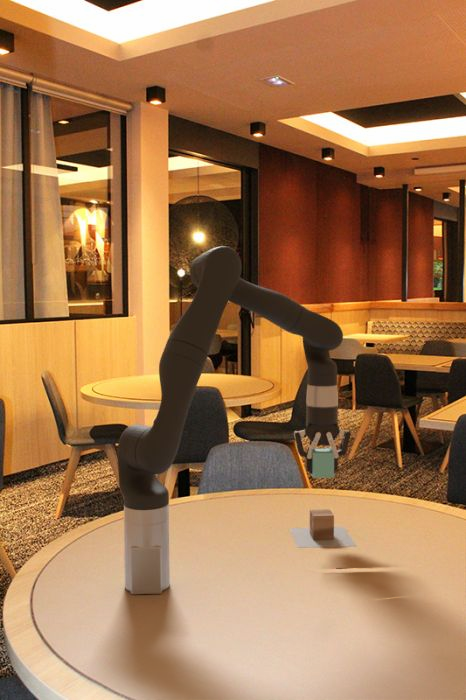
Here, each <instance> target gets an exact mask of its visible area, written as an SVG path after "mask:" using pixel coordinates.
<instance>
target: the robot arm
mask: <svg viewBox="0 0 466 700" xmlns="http://www.w3.org/2000/svg"><path fill="white" fill-rule="evenodd" d="M242 269H243V268H242V260H241V257H240V255H239V254H238V253H237V251H236V250H234V249H233V248H232V247H230V246H224V245H221V246H217V247H213V248H211V249H208V250H207V251H205V252H204V253H201V254H200V255H199V256H197V257H196V258H195V259H193V260H192V263H191V264H190V266H189V278H190V279H191V282H192V284H193V285H194V286H195V288H197V290H196V292H195V293H194V296H193V298H192V301H191V302H190V304H189V305H188V307H187V308H186V310H185V311H184V312H183V313H182V315H181V317H180V318H179V320H178V321H177V323H176V324H175V325H174V327H173V329H172V330H171V333H170V334H169V336H168V338H167V340H166V344H165V346H164V349H163V352H162V354H161V357H160V359H159V365H158V375H159V383H160V384H159V385H160V393H161V397H160V398H161V399H160V403H159V404H160V405H159V408H158V411H157V414H156V417H155V419H154V422H153V424H152V426H151V425H144V424H132V425H130V426H128V427H126V428H125V429H124V431H122V432H121V435H120V438H119V440H118V445H117V456H116V457H117V469H118V471H117V473H118V484H119V490H120V493H121V495H122V498H123V543H124V552H123V553H124V587H125V590H127V591H128V592H130V595H147V594H148V595H151V594H152V595H153V594H154V595H155V594H157V595H158V594H162V593H163V591H165V590H166V589H168V588H169V587H170V585H171V584H170V582H171V581H170V580H171V579H170V577H171V576H170V575H171V572H170V571H171V569H170V564H171V563H170V495H169V494H170V493H169V490H168V488H167V487H166V486H165V485H164V484H163V483H161V481H160V480H159V479H158V477H157V475H161V474H162V475H163V474H164V473H165V472H168V470H169V469H170V468H171V466H172V465H173V463H174V461H175V458H176V457H177V454H178V451H179V448H180V443H181V440H182V435H183V431H184V428H185V424H186V421H187V420H186V419H187V416H188V413H189V410H190V407H191V403H192V401H193V398H194V395H195V392H196V388H197V387H198V386H197V385H198V383H199V380H200V378H201V375H202V373H203V370H204V368H205V365H206V362H207V360H208V357H209V354H210V351H211V348H212V345H213V342H214V340H215V337H216V334H217V331H218V328H219V325H220V322H221V319H222V316H223V314H224V312H225V309H226V307H227V305H228V303H232V304H234V305H236V306H239V307H241V308H243V309H246V310H247V311H249V312H251V313H254V314H256V315H258V316H260V317H261V318H262V319H263V318H264V319H265V320H267V321H268V322H270V323H272V324H273V325H275V326H277V327H279V328H280V329H282V330H284V332H285V331H286V332H288V333H290V334H292V335H297V336H299V337H302V346H303V351H304V352H303V353H304V357H305V361H306V365H307V387H306V399H305V402H306V420H305V421H306V425H305V426H304V429H302V430H294V431H293V437H294V441H295V445H296V446H295V447H296V448H297V453H298V455H299V456H300V457H303V458H305V470H306V472H308V474H309V475H311V474H312V452H314V451H315V449H317V447H319V446H325V447H326V446H327V447H328V449H330V450H331V451H332V452H334V474H336V472H337V471H338V470H339V458H340V457H342V456H343V457H344V456H346V455H347V451H348V447H349V443H350V439H351V432H350V431H349V429H345V430H343V429H340V427H339V392H338V366H337V363H336V362H335V361H334V360H332V358H331V356H330V351H334V350H337V348H339V347H340V346H341V345H342V343H343V340H344V334H343V333H344V332H343V330H342V328H341V327H340V325H339V324H338V323H337V322H336V321H334V320H332V319H330V318H328V317H326V316H324V315H322V314H319V313H317V312H315V311H312V310H310V309H308V308H307V307H305V306H303V305H302V304H301V303H299V302H297V301H296V300H294V299H292V298H290V297H289V296H287V295H285V294H283V293H281V292H279V291H276V290H273V289H270V288H266V287H263V286H260V285H257V284H254V283H251V282H249V281H246V280H245V279H243V278H242V277H241V273H242ZM305 435H306V437H307V438H308V439H309V442H308V444H307V448H306V450H305V449H304V445H303V441H302V440H304V437H305ZM338 436H339V437H340V438H341V441H340V446H339V449H337V446H336V443H335V440H336V438H337V437H338Z"/></svg>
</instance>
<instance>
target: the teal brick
mask: <svg viewBox="0 0 466 700" xmlns="http://www.w3.org/2000/svg"><path fill="white" fill-rule="evenodd" d="M310 476H311V477H312V478H313V479H334V478H335V473H334V452H332V451H331V450H330V448H316V449H315V451H314V452H312V474H310Z"/></svg>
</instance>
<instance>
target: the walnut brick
mask: <svg viewBox="0 0 466 700" xmlns="http://www.w3.org/2000/svg"><path fill="white" fill-rule="evenodd" d="M334 527H335V515H334V513H333V512H332V510H331V509H330V508H328V509H326V508H325V509H322V508H321V509H309V528H310V535H311V537H312V539H313V540H334Z"/></svg>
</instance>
